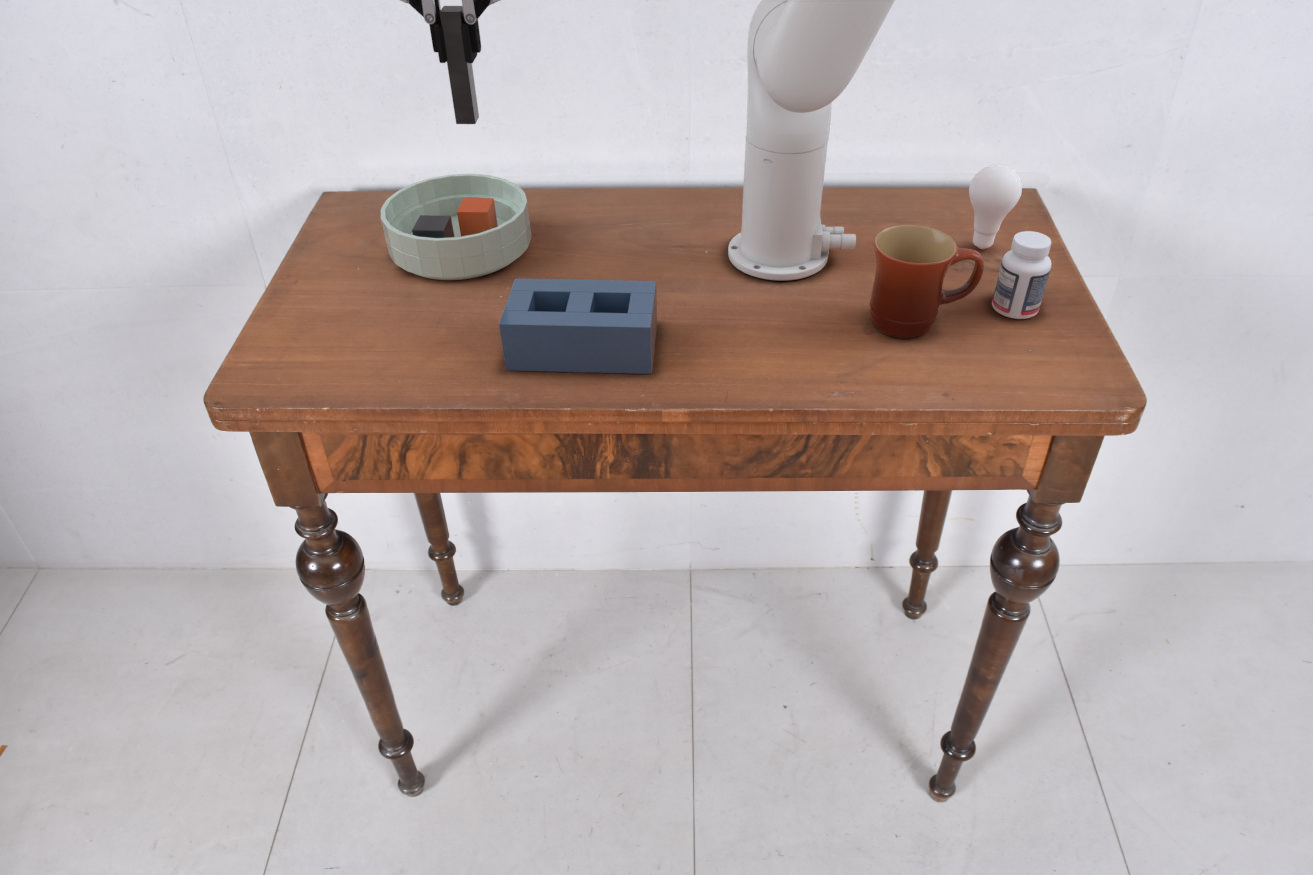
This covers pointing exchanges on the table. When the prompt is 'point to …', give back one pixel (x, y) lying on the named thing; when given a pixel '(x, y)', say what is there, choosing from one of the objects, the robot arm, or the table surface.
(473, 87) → the rectangular bar
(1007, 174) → the lightbulb
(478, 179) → the bowl
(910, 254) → the mug
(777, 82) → the robot arm
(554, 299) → the holder
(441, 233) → the block
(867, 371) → the table surface
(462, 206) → the block
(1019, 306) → the pill bottle
